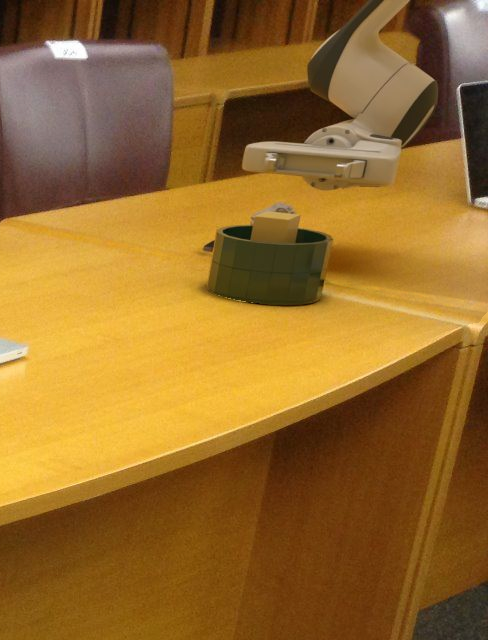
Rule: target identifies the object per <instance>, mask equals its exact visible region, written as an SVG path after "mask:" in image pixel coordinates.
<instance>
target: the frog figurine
mask: <svg viewBox="0 0 488 640" xmlns="http://www.w3.org/2000/svg"><path fill="white" fill-rule="evenodd" d="M266 211H270V212H280V213H289V214H298V213H297V212H296V210H294V207H293V206H292V205H291V204H287V203H284V202H276V203H274V204H272V205H271V206H268V207H266V208H264V209H262V210H259V211H256V212H255V213H253V214H252V215H251V216H250V219H251V221H250V222H249V225H253V223H254V218H255V216H256V215H259V214H261V213H264V212H266Z"/></svg>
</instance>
